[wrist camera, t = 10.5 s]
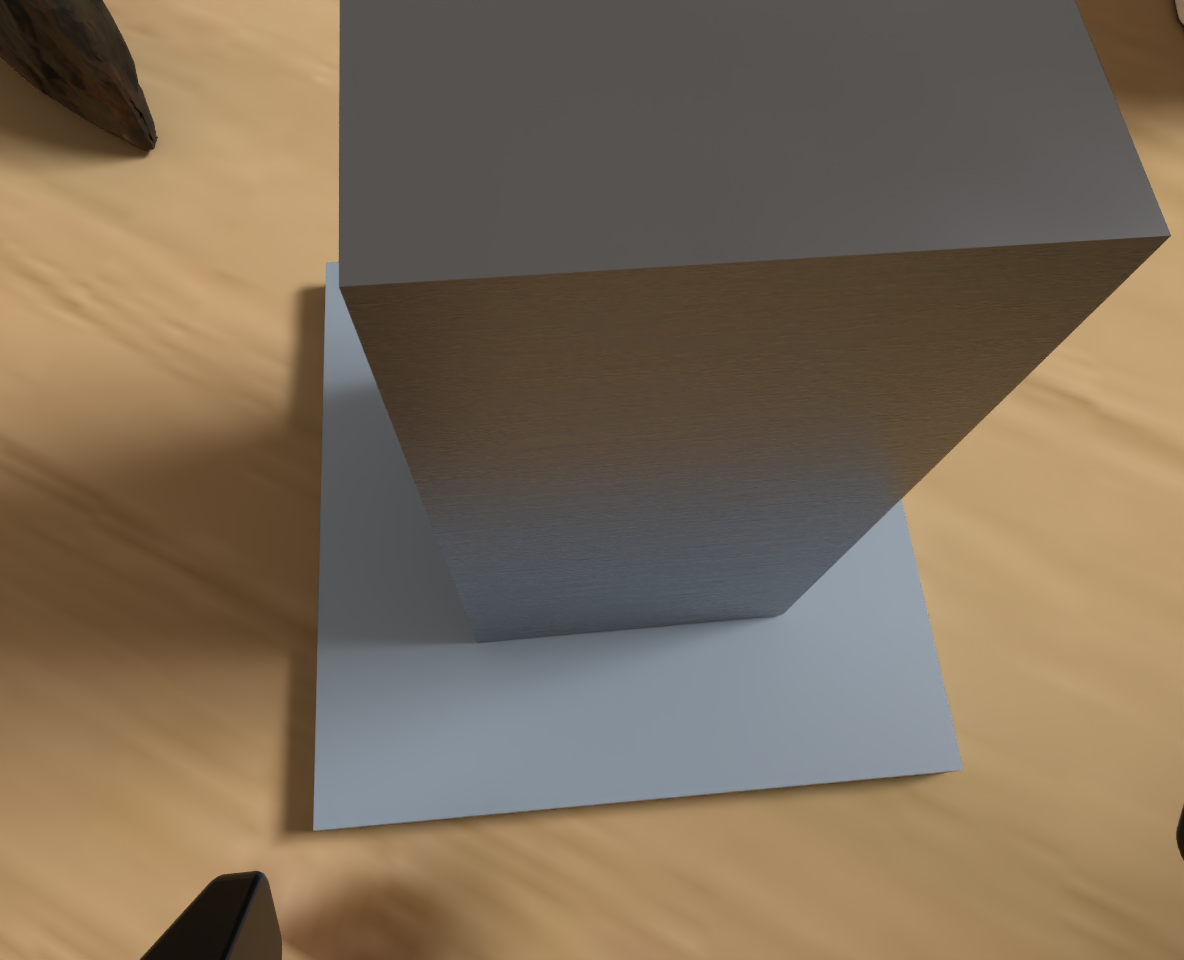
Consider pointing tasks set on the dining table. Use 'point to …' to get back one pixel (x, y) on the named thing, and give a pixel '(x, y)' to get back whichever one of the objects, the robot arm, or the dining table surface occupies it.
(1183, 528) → the dining table surface
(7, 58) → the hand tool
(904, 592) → the base block
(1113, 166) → the grey block
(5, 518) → the dining table surface
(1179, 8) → the white cup
